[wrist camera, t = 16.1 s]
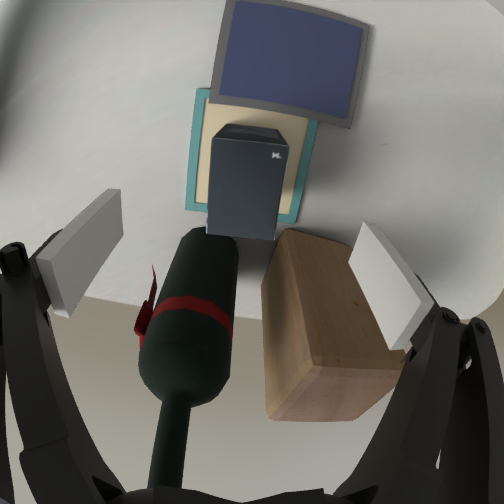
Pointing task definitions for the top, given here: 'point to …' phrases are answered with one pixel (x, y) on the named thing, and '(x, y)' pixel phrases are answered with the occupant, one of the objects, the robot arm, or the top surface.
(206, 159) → the print frame
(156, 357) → the wine bottle
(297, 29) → the ink pad
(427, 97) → the top surface
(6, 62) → the top surface
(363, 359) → the wooden block
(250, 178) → the box
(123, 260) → the top surface
